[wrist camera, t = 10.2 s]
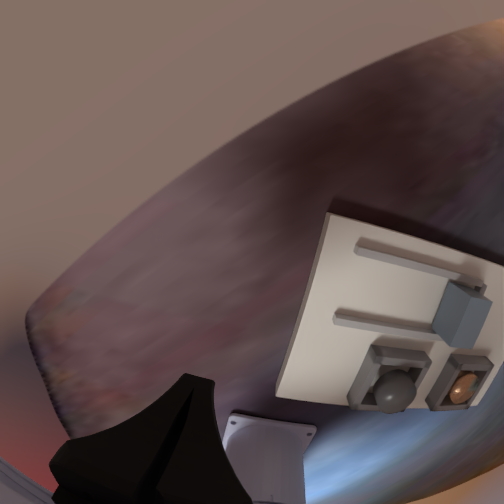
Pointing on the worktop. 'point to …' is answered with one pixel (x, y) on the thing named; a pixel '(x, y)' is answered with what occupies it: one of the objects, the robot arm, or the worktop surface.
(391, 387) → the black button
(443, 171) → the worktop surface
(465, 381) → the copper button
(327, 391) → the control panel
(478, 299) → the block
